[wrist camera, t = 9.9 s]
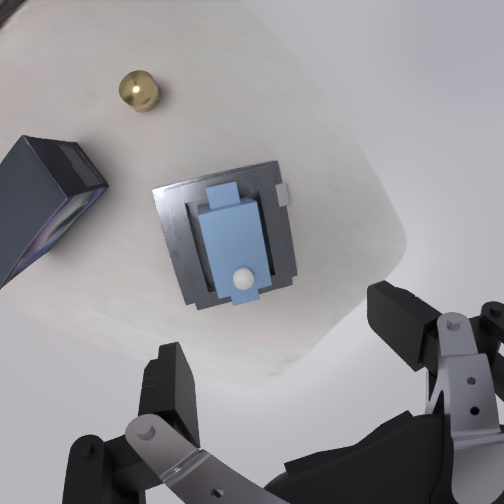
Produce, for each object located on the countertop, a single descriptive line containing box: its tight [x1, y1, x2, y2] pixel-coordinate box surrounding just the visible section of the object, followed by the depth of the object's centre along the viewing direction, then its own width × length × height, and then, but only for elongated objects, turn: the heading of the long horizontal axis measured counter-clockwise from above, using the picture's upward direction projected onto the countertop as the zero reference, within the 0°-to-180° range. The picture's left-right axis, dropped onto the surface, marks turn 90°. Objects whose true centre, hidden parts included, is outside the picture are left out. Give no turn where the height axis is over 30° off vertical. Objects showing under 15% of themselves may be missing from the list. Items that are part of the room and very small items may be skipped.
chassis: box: [152, 161, 297, 310], centre depth 27 cm, size 12×12×3 cm
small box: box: [0, 135, 108, 289], centre depth 18 cm, size 11×6×10 cm, turn 127°
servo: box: [197, 181, 272, 306], centre depth 24 cm, size 10×4×6 cm, turn 11°
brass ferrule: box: [119, 70, 160, 112], centre depth 21 cm, size 3×3×4 cm
